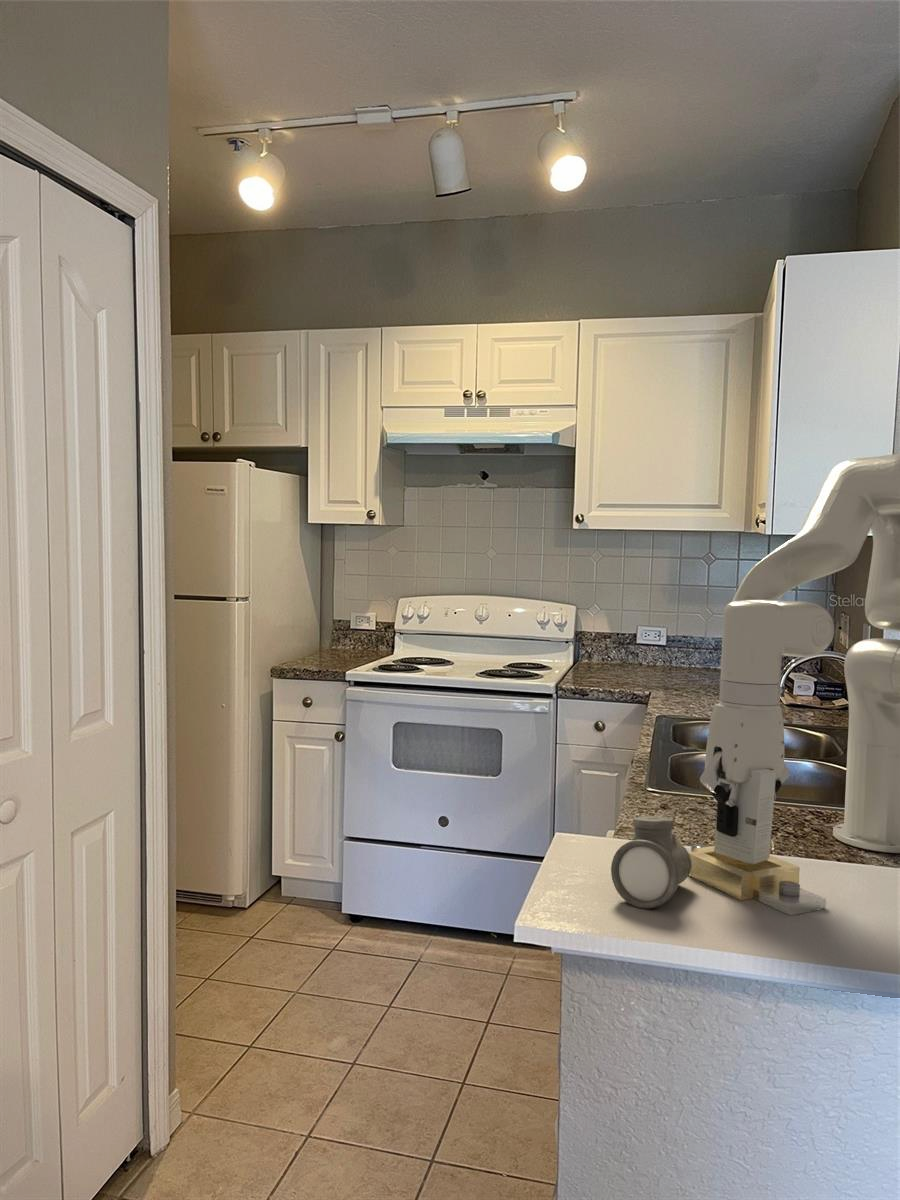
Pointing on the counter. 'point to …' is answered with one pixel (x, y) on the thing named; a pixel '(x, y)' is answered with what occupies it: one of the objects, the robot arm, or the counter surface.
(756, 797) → the skincare box
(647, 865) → the pipe fitting
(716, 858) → the open yellow tray
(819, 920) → the counter surface
